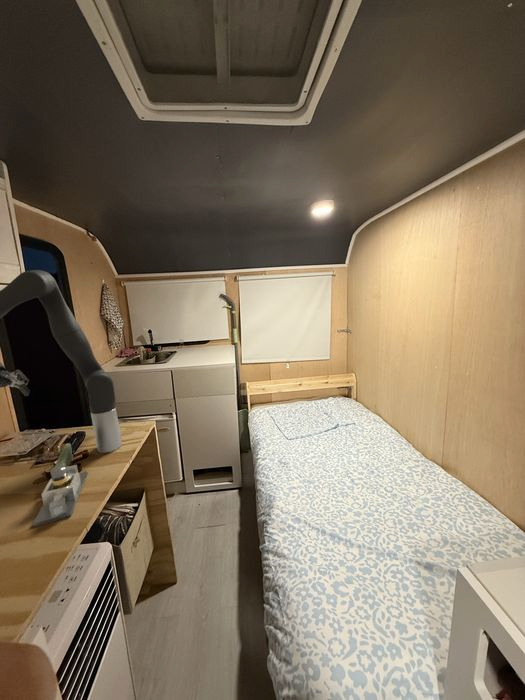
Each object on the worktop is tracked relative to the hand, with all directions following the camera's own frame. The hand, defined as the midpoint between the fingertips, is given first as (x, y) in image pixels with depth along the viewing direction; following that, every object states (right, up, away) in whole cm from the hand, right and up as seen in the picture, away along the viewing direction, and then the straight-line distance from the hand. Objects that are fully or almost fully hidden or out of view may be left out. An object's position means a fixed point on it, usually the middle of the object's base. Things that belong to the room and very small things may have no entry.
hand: (13, 398), depth 93 cm
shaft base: (+19, -31, -4) cm, 37 cm away
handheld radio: (+9, -29, +13) cm, 33 cm away
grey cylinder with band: (+19, -30, -4) cm, 36 cm away
